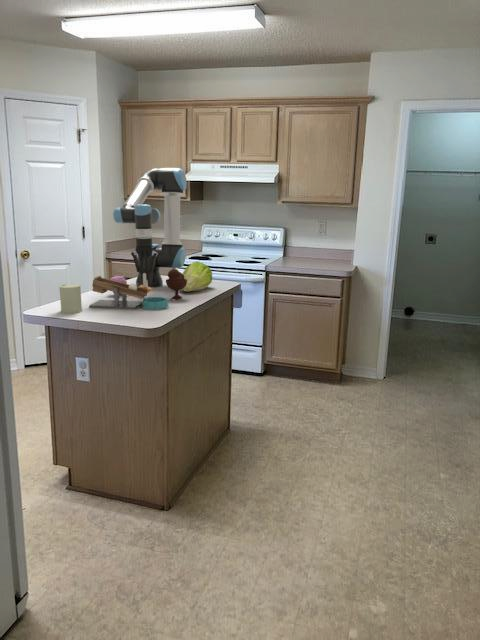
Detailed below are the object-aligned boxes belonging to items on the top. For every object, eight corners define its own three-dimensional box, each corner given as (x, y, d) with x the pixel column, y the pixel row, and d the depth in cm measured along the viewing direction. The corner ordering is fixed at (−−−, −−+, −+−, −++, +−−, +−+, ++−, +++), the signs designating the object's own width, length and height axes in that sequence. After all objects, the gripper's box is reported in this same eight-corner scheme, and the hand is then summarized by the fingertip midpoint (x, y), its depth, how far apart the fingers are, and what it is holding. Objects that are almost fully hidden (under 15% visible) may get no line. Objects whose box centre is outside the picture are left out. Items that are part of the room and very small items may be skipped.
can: (66, 308, 235) (64, 282, 232) (85, 308, 234) (83, 283, 231) (57, 312, 226) (55, 286, 223) (77, 313, 225) (75, 286, 222)
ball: (129, 284, 240) (136, 281, 240) (131, 292, 241) (139, 290, 240) (126, 285, 237) (134, 283, 236) (128, 293, 237) (136, 291, 237)
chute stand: (100, 301, 249) (98, 282, 247) (143, 303, 247) (142, 283, 244) (89, 307, 237) (87, 287, 234) (135, 309, 234) (134, 289, 232)
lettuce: (202, 303, 271) (176, 304, 276) (217, 280, 289) (193, 281, 295) (194, 278, 263) (168, 280, 269) (211, 257, 282) (185, 259, 288)
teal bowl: (147, 303, 246) (147, 296, 245) (170, 304, 244) (170, 297, 243) (139, 309, 235) (139, 301, 234) (164, 310, 233) (164, 302, 232)
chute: (105, 284, 254) (107, 272, 252) (151, 296, 252) (153, 284, 250) (91, 291, 237) (93, 278, 235) (140, 304, 236) (143, 290, 234)
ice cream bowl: (184, 301, 252) (183, 271, 248) (162, 300, 254) (161, 270, 250) (190, 297, 262) (190, 267, 258) (169, 295, 264) (169, 267, 260)
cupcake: (129, 295, 264) (128, 276, 261) (112, 297, 260) (111, 277, 257) (124, 292, 271) (123, 273, 269) (108, 293, 268) (107, 274, 265)
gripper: (128, 238, 240) (130, 287, 246) (155, 238, 238) (156, 288, 244) (133, 236, 247) (135, 284, 253) (159, 237, 245) (160, 285, 251)
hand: (145, 286), depth 248 cm, fingers closed
